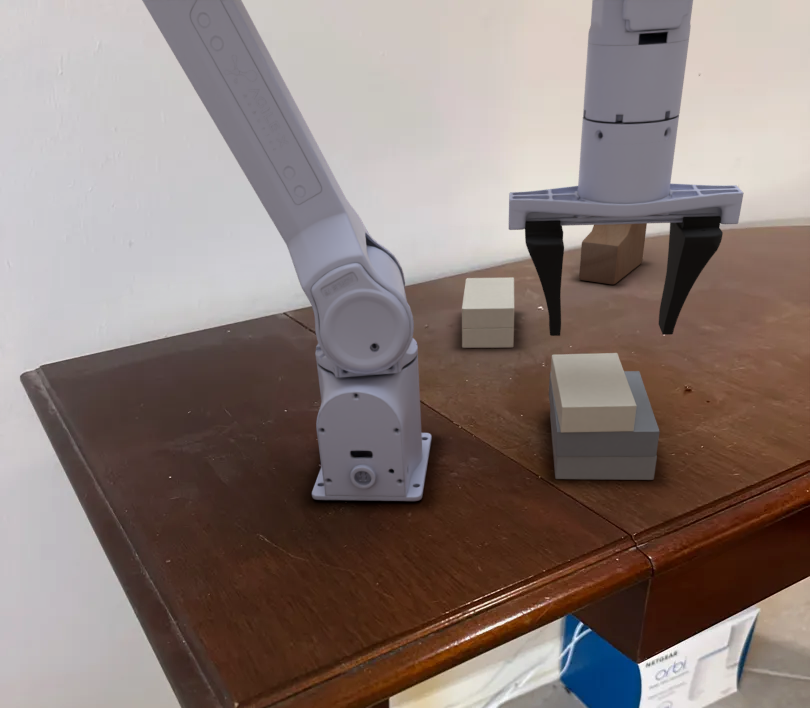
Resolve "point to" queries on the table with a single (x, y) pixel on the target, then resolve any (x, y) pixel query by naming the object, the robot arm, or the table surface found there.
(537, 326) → the table surface
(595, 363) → the beige rectangular block
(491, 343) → the white book
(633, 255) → the wooden block
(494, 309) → the white book
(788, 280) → the table surface
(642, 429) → the grey book
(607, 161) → the robot arm
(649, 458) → the grey book
